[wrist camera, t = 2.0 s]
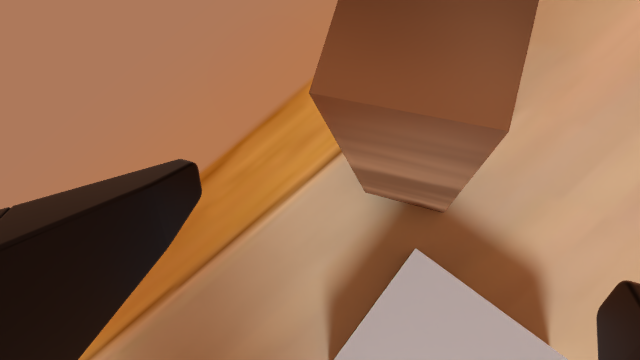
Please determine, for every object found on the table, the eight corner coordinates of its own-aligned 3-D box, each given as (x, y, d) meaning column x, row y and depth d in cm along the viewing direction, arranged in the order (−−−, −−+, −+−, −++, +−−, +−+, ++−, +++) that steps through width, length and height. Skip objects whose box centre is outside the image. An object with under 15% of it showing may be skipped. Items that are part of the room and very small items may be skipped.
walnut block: (443, 212, 18) (508, 131, 7) (365, 192, 19) (308, 92, 8) (462, 137, 19) (551, -54, 7) (385, 121, 20) (359, -67, 9)
